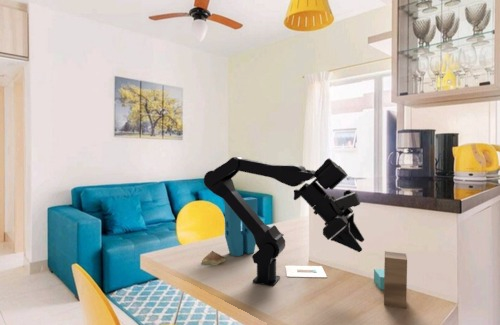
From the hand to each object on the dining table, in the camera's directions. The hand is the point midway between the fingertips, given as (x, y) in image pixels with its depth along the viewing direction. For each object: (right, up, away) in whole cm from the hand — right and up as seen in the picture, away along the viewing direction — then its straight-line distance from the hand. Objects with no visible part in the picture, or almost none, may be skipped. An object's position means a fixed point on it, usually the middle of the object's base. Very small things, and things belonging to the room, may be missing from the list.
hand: (362, 245), depth 83 cm
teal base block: (+10, -13, +7) cm, 18 cm away
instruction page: (-12, -13, +17) cm, 25 cm away
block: (-32, -12, +36) cm, 50 cm away
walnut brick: (+7, -14, -3) cm, 16 cm away
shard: (-43, -13, +28) cm, 53 cm away
